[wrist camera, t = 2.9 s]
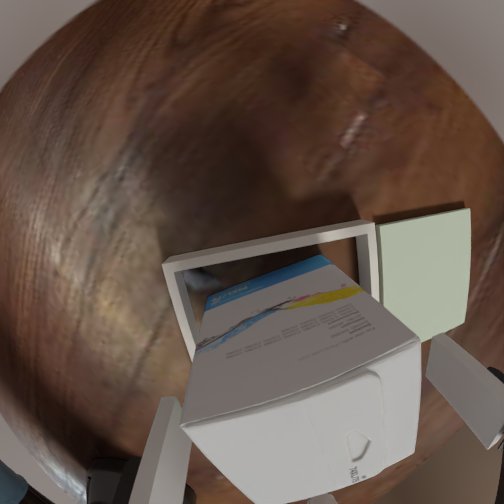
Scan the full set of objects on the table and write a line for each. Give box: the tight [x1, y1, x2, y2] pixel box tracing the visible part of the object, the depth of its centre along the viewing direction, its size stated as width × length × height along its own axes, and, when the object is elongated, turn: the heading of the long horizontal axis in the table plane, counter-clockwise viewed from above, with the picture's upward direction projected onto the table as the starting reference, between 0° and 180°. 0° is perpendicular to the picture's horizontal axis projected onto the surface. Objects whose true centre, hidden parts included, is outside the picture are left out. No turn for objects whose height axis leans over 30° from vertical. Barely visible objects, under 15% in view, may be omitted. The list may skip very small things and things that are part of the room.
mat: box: [376, 208, 471, 342], centre depth 19 cm, size 10×11×1 cm
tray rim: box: [162, 219, 379, 362], centre depth 18 cm, size 13×13×2 cm
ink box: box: [179, 255, 421, 504], centre depth 14 cm, size 8×8×12 cm
